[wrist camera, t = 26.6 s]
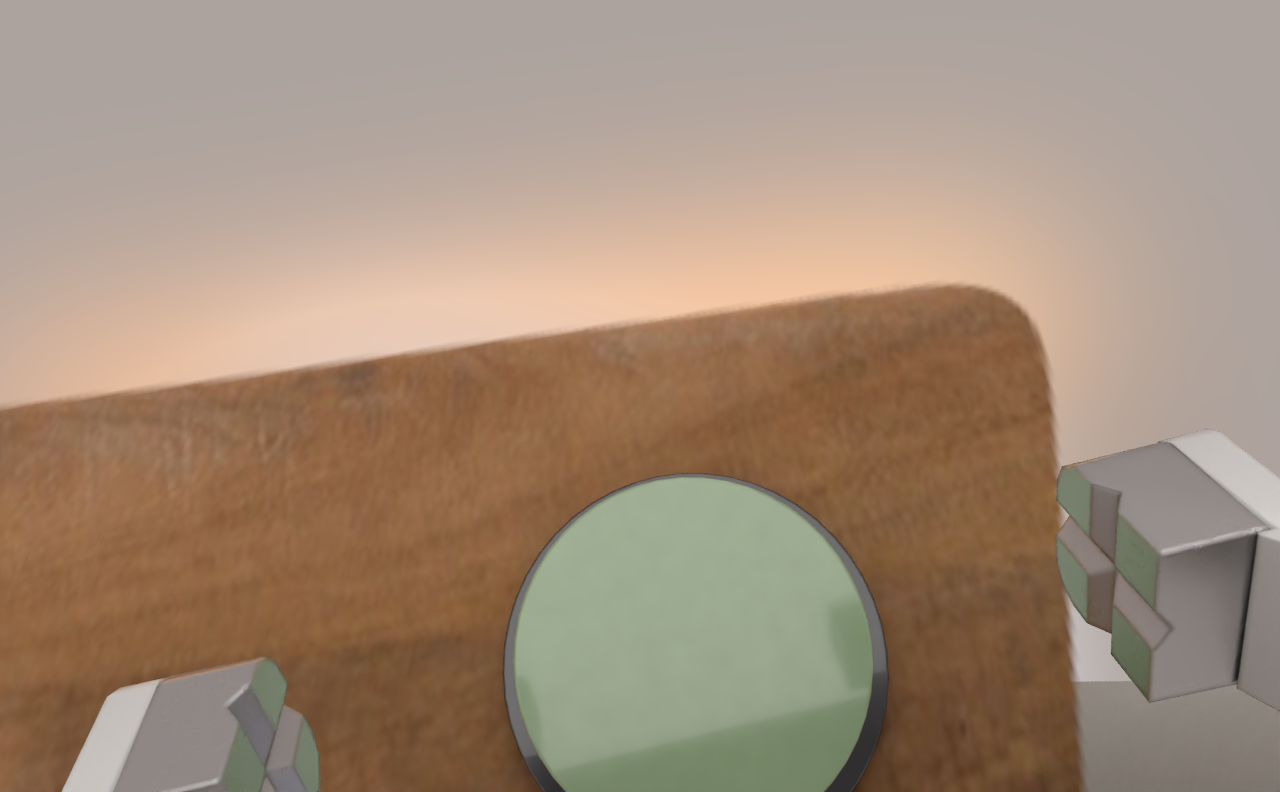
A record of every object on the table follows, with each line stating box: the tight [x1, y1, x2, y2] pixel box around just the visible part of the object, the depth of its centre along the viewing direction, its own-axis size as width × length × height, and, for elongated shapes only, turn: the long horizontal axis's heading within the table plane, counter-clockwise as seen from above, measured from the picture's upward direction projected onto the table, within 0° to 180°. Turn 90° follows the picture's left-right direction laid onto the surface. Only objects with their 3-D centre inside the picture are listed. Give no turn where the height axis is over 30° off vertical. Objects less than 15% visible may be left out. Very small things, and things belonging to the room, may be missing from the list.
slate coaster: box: [503, 473, 889, 792], centre depth 26 cm, size 10×10×1 cm
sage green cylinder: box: [513, 477, 873, 792], centre depth 22 cm, size 6×6×8 cm
